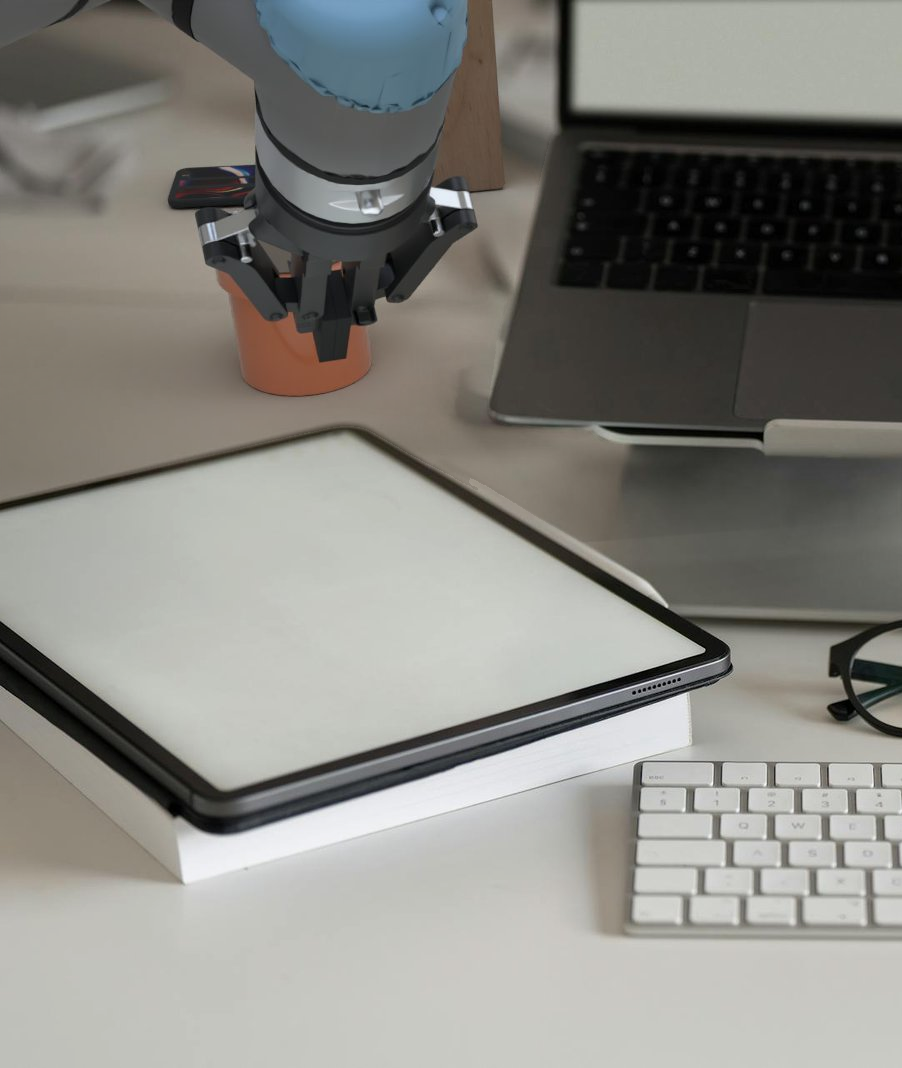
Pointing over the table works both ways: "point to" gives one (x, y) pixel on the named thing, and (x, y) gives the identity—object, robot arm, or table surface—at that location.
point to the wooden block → (474, 110)
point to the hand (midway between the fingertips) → (327, 337)
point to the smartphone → (211, 186)
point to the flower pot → (289, 345)
